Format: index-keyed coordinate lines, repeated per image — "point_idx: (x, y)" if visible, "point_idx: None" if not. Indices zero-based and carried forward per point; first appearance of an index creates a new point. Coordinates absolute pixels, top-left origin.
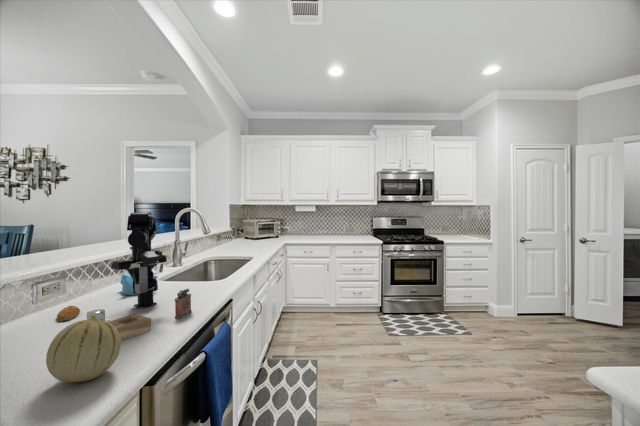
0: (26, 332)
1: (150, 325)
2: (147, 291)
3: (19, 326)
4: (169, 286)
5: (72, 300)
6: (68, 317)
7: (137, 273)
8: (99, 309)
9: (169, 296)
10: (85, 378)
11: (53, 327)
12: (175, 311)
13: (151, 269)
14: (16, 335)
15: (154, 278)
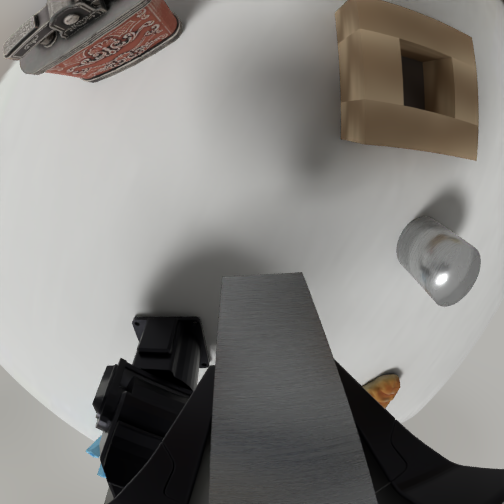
0: (452, 353)
1: (343, 7)
2: (225, 277)
3: (425, 393)
4: (67, 411)
5: None
6: (391, 378)
7: (385, 462)
8: (435, 298)
9: (74, 351)
10: None
11: (428, 348)
12: (167, 25)
13: (127, 495)
14: (464, 348)
15: (103, 421)
